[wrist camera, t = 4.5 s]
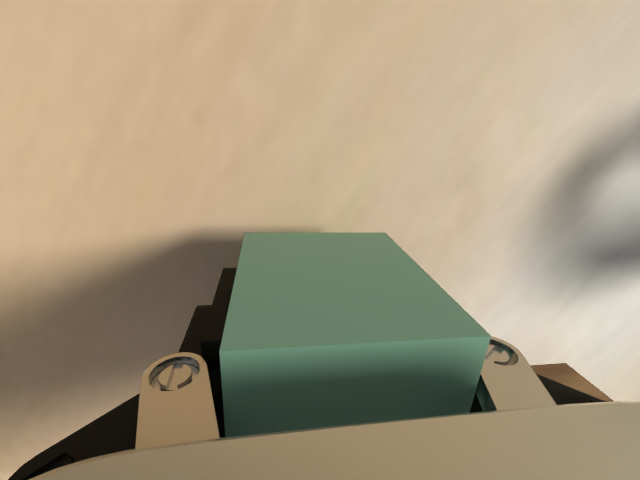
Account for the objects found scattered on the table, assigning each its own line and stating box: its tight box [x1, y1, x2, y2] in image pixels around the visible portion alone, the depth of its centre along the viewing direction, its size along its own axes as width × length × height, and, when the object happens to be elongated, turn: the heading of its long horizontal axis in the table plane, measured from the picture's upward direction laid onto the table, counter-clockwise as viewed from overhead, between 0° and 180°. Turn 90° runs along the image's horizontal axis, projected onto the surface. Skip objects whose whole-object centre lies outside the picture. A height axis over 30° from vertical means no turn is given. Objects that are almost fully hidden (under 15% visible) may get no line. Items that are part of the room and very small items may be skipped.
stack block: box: [219, 233, 491, 438], centre depth 9 cm, size 5×5×6 cm
